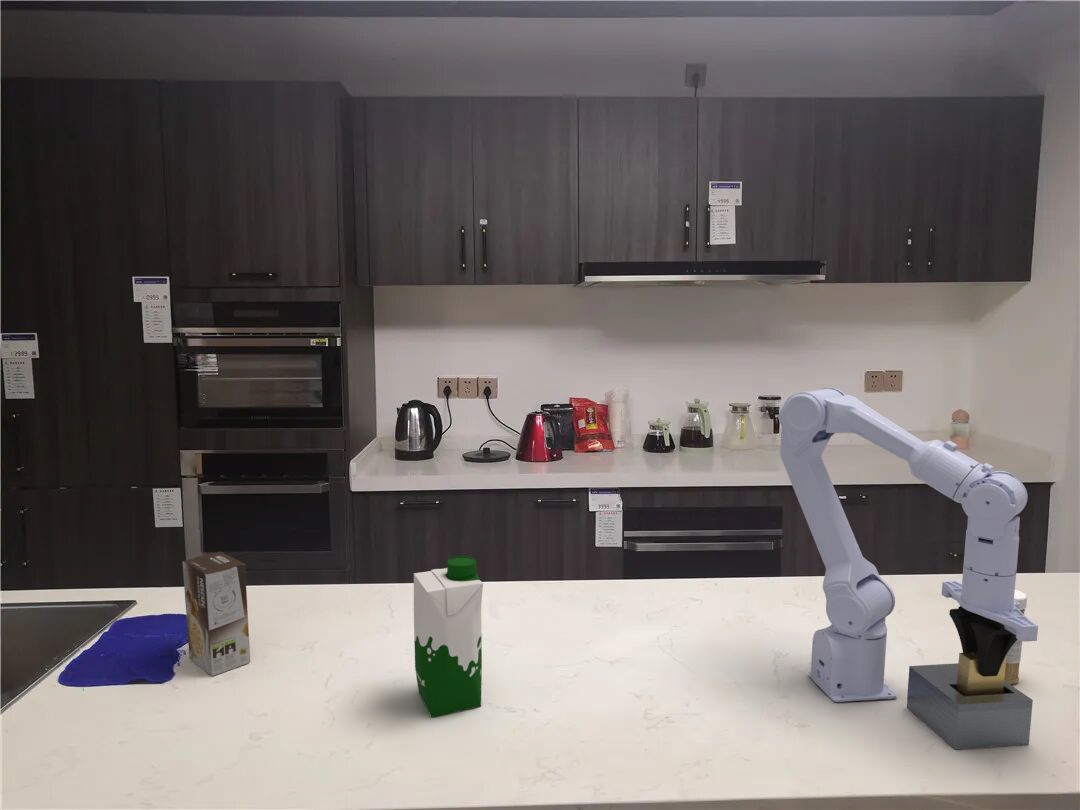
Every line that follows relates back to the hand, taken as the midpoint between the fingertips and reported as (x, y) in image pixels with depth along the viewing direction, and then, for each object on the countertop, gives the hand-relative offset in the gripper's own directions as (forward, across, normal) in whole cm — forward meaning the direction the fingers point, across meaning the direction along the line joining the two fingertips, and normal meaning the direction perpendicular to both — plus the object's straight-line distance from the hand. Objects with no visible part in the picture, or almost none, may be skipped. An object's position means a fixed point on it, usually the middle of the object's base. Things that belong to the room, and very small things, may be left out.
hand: (981, 670), depth 94 cm
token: (+3, 0, 0) cm, 3 cm away
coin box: (+8, +2, 0) cm, 9 cm away
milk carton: (+9, +16, +68) cm, 71 cm away
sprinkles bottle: (+9, +12, -14) cm, 20 cm away
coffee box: (+9, +32, +104) cm, 109 cm away
